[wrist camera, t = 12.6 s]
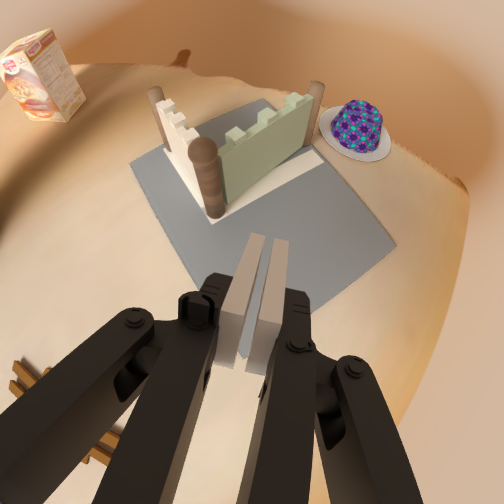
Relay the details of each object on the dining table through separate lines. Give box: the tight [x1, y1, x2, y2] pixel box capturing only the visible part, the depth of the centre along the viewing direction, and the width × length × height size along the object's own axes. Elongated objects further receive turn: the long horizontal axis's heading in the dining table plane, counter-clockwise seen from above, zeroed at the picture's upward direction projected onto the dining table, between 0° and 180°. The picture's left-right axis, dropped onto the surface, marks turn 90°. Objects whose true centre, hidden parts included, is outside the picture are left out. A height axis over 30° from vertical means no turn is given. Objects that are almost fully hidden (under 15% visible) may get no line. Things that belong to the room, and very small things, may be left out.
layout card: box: [129, 99, 396, 359], centre depth 34 cm, size 30×23×1 cm
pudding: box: [319, 100, 391, 162], centre depth 37 cm, size 12×12×5 cm
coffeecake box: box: [0, 28, 86, 123], centre depth 33 cm, size 15×7×20 cm, turn 70°
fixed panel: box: [147, 86, 202, 196], centre depth 31 cm, size 12×2×11 cm, turn 33°
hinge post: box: [188, 137, 225, 219], centre depth 28 cm, size 3×3×13 cm
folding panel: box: [217, 81, 325, 204], centre depth 30 cm, size 15×2×10 cm, turn 134°
